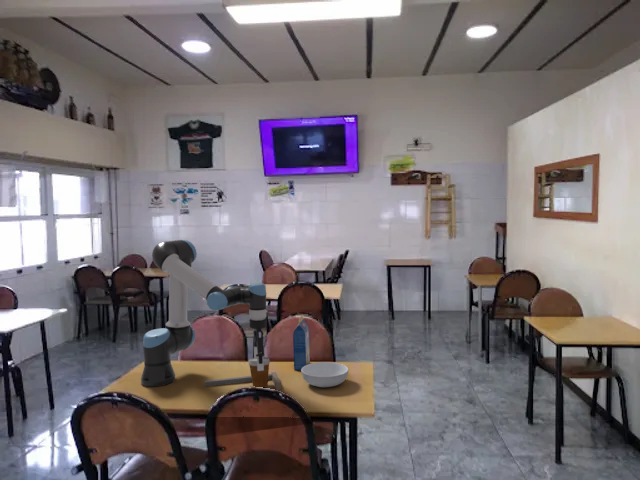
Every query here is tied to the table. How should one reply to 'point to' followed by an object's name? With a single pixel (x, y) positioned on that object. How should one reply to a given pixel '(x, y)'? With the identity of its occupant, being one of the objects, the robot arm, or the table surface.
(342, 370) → the serving bowl
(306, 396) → the table surface
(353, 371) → the table surface
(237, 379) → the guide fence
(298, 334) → the blue food package
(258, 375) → the disposable coffee cup
